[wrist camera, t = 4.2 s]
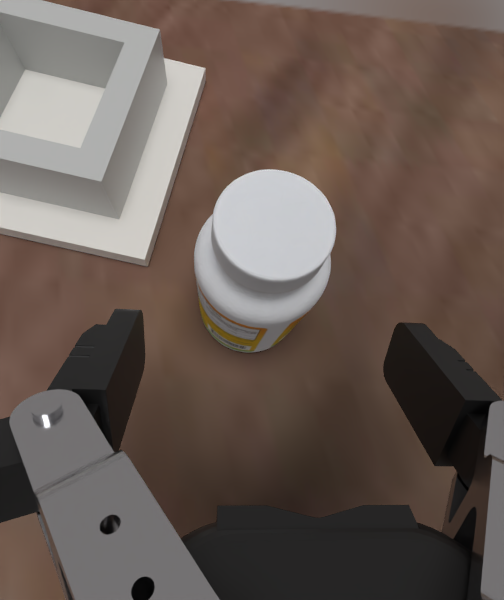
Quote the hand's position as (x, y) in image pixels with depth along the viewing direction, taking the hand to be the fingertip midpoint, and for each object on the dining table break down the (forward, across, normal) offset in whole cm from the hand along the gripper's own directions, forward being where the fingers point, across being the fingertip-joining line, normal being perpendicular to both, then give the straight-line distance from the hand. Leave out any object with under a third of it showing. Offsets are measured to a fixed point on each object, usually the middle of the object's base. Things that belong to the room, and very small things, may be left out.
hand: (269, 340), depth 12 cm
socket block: (+16, +11, -4) cm, 20 cm away
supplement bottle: (+9, 0, +4) cm, 9 cm away
